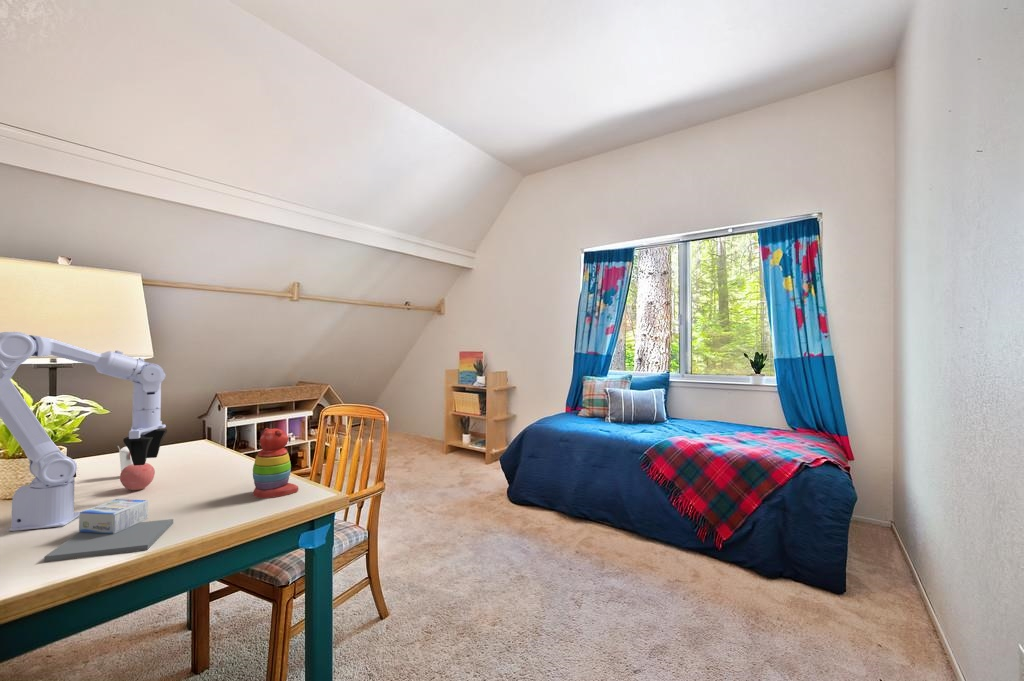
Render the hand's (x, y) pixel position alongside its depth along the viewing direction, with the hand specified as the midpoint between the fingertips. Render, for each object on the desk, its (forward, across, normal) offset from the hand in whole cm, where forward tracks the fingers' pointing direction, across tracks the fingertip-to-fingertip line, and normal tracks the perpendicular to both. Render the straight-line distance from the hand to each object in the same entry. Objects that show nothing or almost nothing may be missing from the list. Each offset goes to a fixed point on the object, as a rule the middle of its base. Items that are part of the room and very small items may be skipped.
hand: (145, 461), depth 117 cm
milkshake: (+11, +27, +14) cm, 32 cm away
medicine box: (+7, -16, -3) cm, 17 cm away
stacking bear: (+11, -2, -30) cm, 32 cm away
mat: (+10, -26, -4) cm, 28 cm away
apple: (+11, +12, +6) cm, 17 cm away
